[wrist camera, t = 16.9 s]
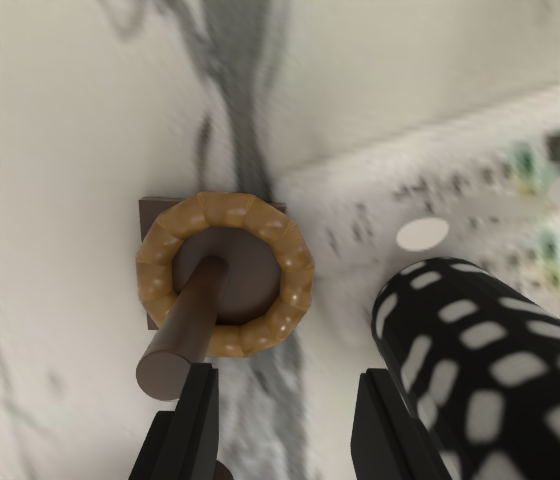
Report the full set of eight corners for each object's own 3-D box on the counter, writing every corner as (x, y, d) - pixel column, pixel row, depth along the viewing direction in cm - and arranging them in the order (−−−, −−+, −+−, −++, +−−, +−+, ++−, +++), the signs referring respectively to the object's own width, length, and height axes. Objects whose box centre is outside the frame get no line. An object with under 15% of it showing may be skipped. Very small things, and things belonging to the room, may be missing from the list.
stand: (153, 321, 22) (58, 467, 12) (144, 196, 19) (18, 256, 10) (278, 326, 22) (282, 472, 12) (285, 203, 20) (296, 267, 10)
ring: (149, 341, 21) (137, 360, 19) (139, 185, 18) (124, 190, 16) (305, 348, 21) (307, 367, 19) (318, 194, 18) (322, 200, 17)
